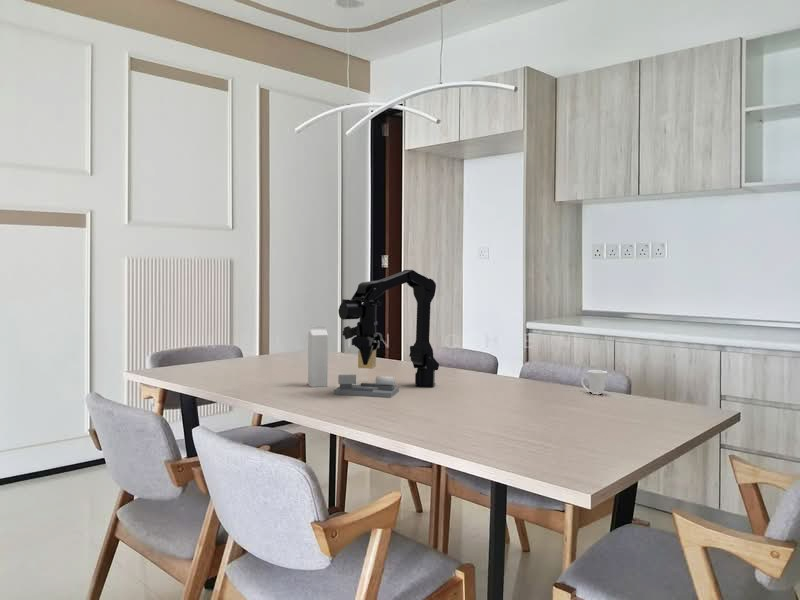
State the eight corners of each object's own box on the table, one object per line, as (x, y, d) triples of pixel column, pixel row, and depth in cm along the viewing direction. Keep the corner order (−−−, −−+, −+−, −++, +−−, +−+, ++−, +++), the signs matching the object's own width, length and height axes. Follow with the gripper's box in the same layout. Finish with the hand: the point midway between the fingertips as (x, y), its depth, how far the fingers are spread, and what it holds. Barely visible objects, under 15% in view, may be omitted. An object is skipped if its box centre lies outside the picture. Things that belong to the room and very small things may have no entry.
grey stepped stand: (398, 391, 226) (398, 374, 225) (390, 397, 214) (391, 379, 214) (344, 388, 230) (344, 371, 230) (333, 394, 218) (333, 376, 218)
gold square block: (375, 366, 224) (376, 348, 223) (372, 368, 219) (372, 350, 218) (362, 365, 225) (362, 348, 224) (358, 367, 220) (358, 349, 219)
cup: (599, 396, 222) (600, 373, 222) (575, 392, 230) (576, 369, 230) (611, 394, 226) (611, 371, 226) (587, 390, 234) (587, 368, 234)
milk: (307, 384, 236) (308, 325, 236) (323, 384, 239) (324, 324, 238) (311, 387, 231) (311, 326, 230) (327, 386, 233) (328, 325, 232)
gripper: (353, 316, 232) (352, 359, 232) (337, 319, 214) (336, 366, 214) (383, 317, 229) (382, 360, 230) (369, 320, 211) (368, 368, 212)
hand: (367, 363), depth 222 cm, fingers closed on gold square block, 5 cm apart
